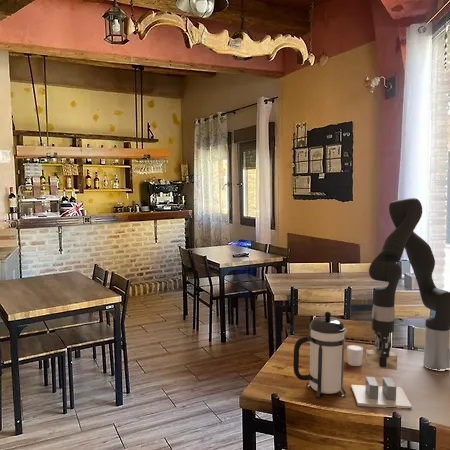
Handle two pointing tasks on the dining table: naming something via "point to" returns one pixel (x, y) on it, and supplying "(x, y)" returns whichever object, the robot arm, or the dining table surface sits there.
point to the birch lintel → (374, 359)
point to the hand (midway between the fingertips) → (381, 363)
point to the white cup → (354, 355)
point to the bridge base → (380, 394)
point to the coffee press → (324, 355)
